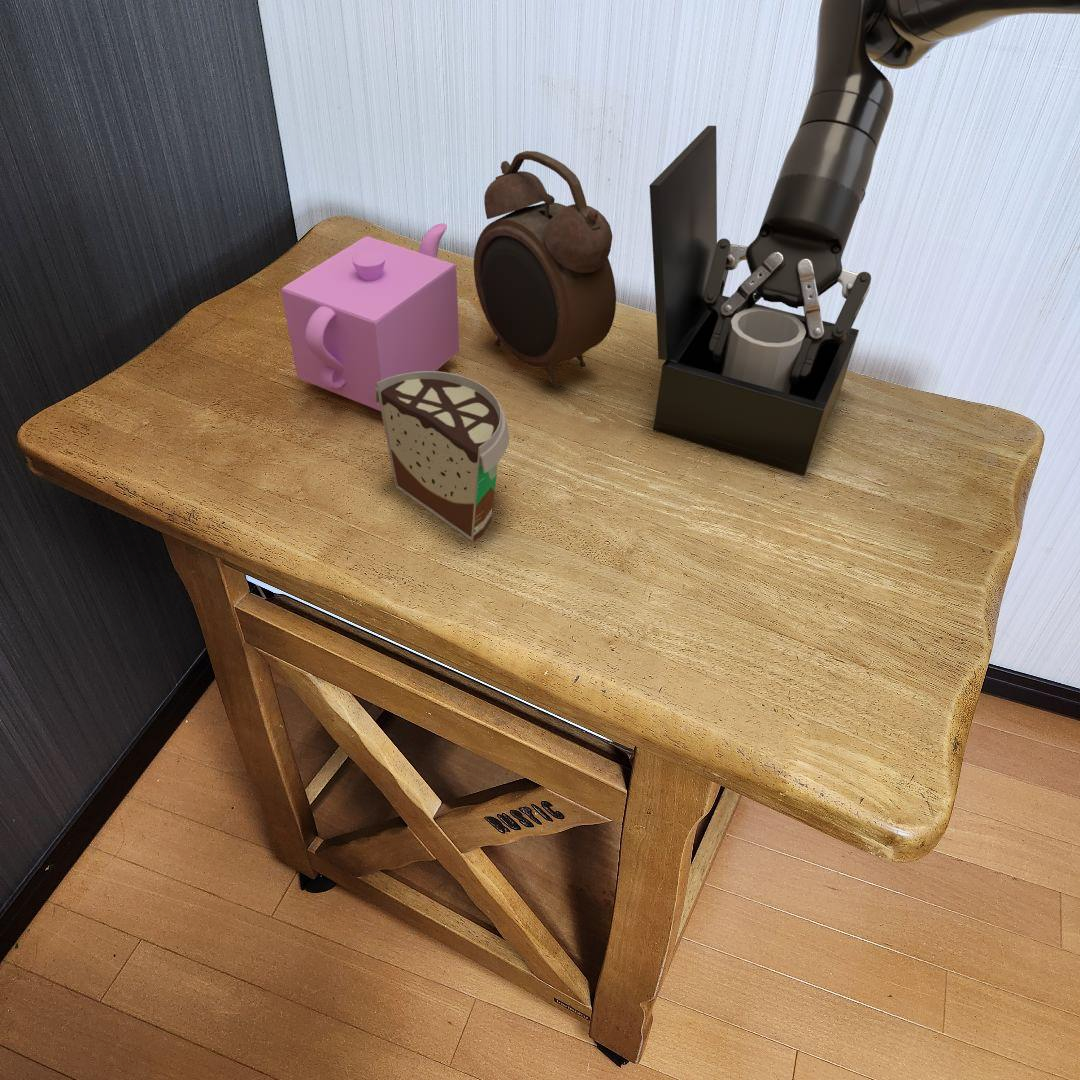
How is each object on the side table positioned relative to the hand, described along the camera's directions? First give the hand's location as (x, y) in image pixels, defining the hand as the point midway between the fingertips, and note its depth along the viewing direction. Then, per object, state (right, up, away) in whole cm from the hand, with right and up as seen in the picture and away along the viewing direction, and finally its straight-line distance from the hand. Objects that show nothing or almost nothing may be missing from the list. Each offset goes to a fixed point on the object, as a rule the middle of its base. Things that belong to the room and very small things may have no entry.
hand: (755, 371), depth 81 cm
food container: (-26, -12, -5) cm, 29 cm away
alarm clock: (-19, +2, +10) cm, 22 cm away
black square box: (+1, -3, +5) cm, 6 cm away
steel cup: (+1, -2, +4) cm, 5 cm away
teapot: (-34, +1, +8) cm, 35 cm away
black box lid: (-6, +10, -3) cm, 12 cm away
